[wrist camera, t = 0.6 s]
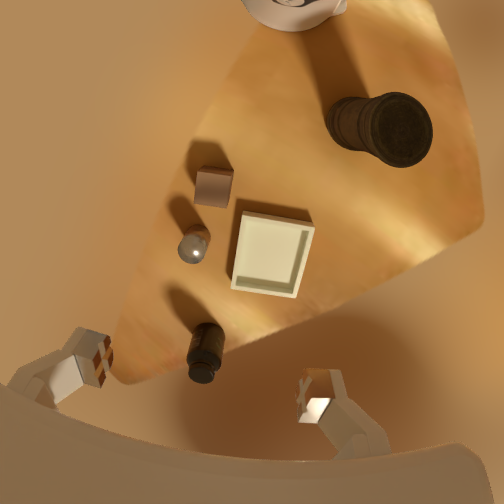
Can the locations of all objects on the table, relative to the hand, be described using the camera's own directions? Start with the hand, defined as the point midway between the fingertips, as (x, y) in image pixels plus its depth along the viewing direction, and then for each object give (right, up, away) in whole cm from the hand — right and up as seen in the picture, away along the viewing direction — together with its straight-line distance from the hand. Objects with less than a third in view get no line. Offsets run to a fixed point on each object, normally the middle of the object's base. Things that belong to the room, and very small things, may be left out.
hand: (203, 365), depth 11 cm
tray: (+5, +4, +42) cm, 42 cm away
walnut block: (-4, +16, +36) cm, 40 cm away
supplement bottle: (-7, -13, +50) cm, 53 cm away
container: (+18, +25, +31) cm, 44 cm away
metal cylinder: (-7, +7, +41) cm, 42 cm away
